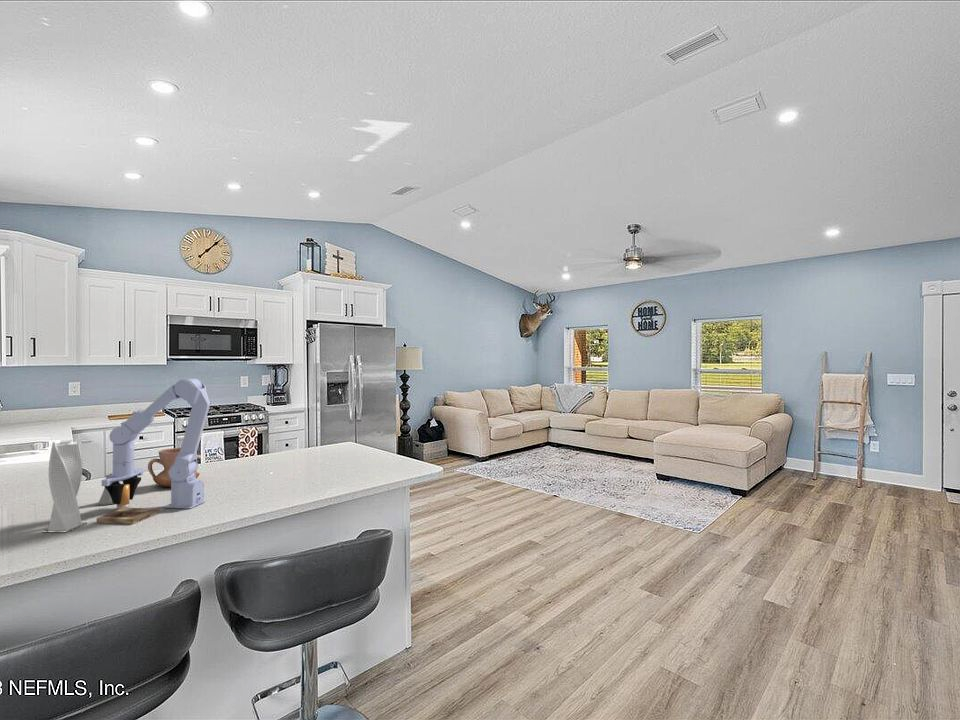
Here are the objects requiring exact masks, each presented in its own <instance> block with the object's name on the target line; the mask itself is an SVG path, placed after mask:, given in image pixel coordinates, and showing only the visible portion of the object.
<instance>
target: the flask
mask: <svg viewBox="0 0 960 720" xmlns="http://www.w3.org/2000/svg"><path fill="white" fill-rule="evenodd" d="M112 474H113V472H111V473H106V474H105V479H106V478H108V477H110V475H112ZM98 505H99V506H100V505H101V506H108V505H114V504H113V502H112V499H111V496H110V494H109V492H108V491H107V489H106V488H105V487H104V488H103V491H102V494H101V496H100V498H99V501H98V503H97V506H98Z"/></svg>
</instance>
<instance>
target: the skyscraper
mask: <svg viewBox="0 0 960 720" xmlns="http://www.w3.org/2000/svg"><path fill="white" fill-rule="evenodd" d="M80 441H81V440H80V435H79V434H77V435H75V440H74V441H73V439H65V440H60V441H59V442H58V443H56V442H55V441H53V442H52V445H51V450H50V455H49V462H48V485H49V490H50V493H51V497H52V500H53V501H52V502H53V505H52V511H51V515H50V521H49V524H48V528H47V529H44V530H43V531H66V532H65V533H68V532H67V531H69V532H71V531H70V530H72V529H74V530H76V529H78V528H80V527H79V526H81V527H83V526H85V525H87V524H88V522H86V521H85V522H84V521H82V518H81V514H80V508H79V503H78V499H77V496H78V494H79V492H80V491H79V490H80V487H81V484H82V483H81V482H82V477H83V459H82V457H83V456H82V450H81V446H80ZM86 523H87V524H86ZM84 524H85V525H84ZM82 525H83V526H82ZM77 527H78V528H77ZM75 528H76V529H75ZM72 531H73V530H72Z"/></svg>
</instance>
